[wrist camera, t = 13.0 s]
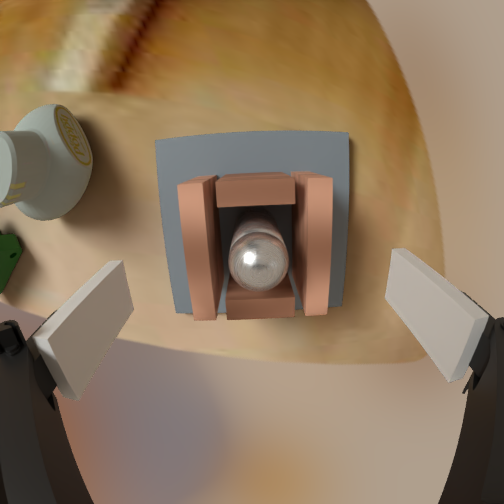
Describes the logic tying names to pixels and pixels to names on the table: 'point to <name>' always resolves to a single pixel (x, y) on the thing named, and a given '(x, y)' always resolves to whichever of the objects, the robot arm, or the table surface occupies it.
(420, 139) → the table surface
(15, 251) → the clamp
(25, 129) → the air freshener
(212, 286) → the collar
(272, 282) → the steel post
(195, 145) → the post board
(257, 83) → the table surface
